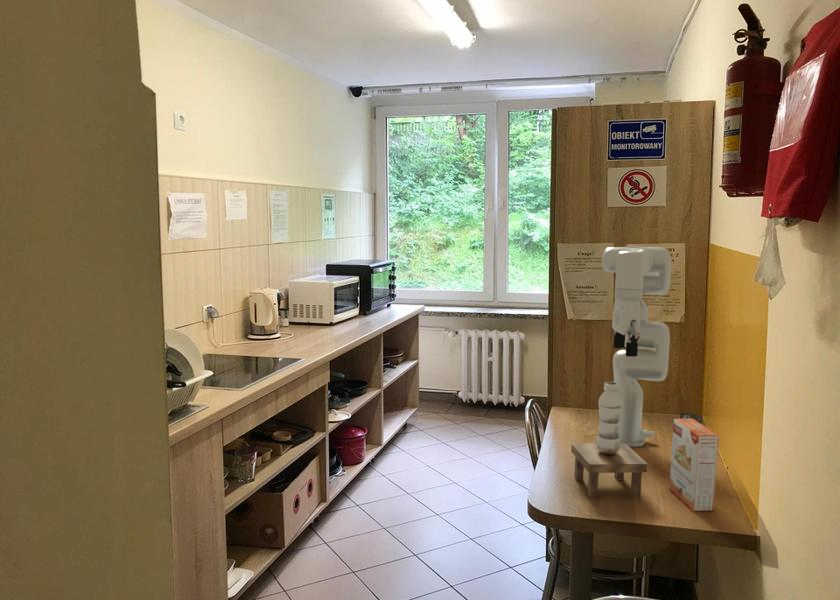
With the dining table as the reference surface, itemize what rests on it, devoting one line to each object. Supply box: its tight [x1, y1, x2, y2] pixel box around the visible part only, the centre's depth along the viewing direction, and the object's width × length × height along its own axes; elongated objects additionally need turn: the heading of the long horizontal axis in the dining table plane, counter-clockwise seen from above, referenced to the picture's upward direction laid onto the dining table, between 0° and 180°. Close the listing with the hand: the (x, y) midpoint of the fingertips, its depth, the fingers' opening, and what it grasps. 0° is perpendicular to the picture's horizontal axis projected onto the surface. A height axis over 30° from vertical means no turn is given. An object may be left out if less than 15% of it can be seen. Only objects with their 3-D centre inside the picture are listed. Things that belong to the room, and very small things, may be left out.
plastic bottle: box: [595, 381, 622, 455], centre depth 183 cm, size 6×7×20 cm
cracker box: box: [669, 418, 720, 512], centre depth 177 cm, size 14×6×21 cm, turn 4°
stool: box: [570, 442, 649, 499], centre depth 185 cm, size 16×16×10 cm
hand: (625, 351), depth 191 cm, fingers open, 9 cm apart
